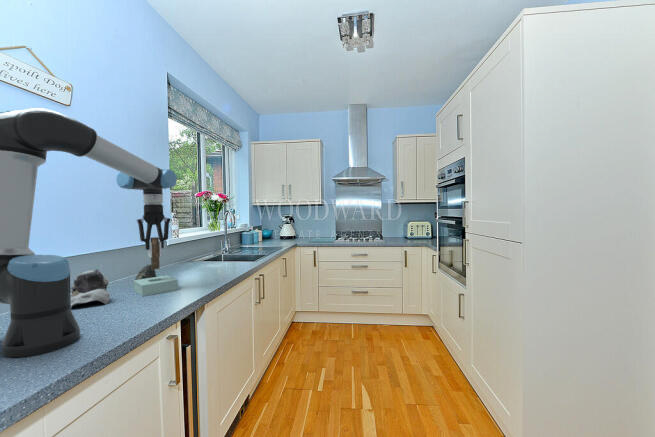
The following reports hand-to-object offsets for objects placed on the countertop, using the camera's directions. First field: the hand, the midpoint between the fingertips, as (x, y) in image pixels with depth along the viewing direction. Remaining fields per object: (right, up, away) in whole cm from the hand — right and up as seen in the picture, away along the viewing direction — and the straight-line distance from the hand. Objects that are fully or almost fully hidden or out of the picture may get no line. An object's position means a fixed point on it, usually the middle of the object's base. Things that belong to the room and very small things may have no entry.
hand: (155, 256), depth 135 cm
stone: (-14, -16, -19) cm, 29 cm away
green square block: (0, -15, 0) cm, 15 cm away
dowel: (0, -6, 0) cm, 6 cm away
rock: (-11, -15, +10) cm, 21 cm away
